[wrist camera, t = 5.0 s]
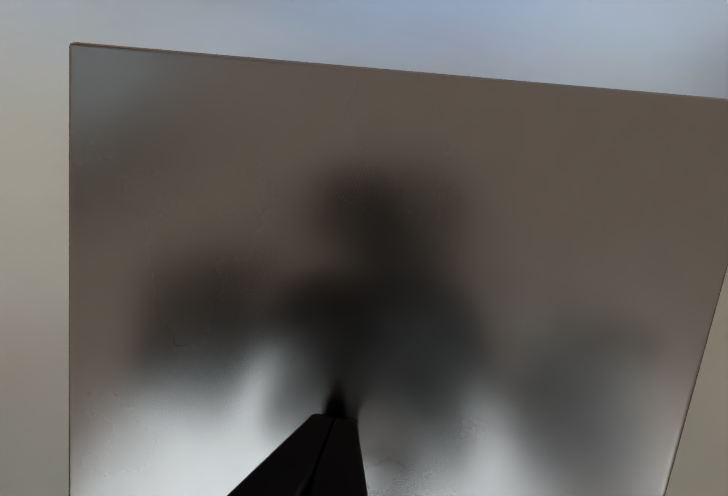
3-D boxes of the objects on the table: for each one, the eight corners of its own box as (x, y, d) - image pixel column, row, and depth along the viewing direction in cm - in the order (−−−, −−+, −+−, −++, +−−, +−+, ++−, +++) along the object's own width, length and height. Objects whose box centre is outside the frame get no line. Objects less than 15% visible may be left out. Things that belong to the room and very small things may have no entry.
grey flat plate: (100, 53, 9) (66, 39, 8) (738, 110, 7) (776, 101, 6) (93, 603, 11) (66, 636, 10) (573, 742, 9) (585, 794, 8)
